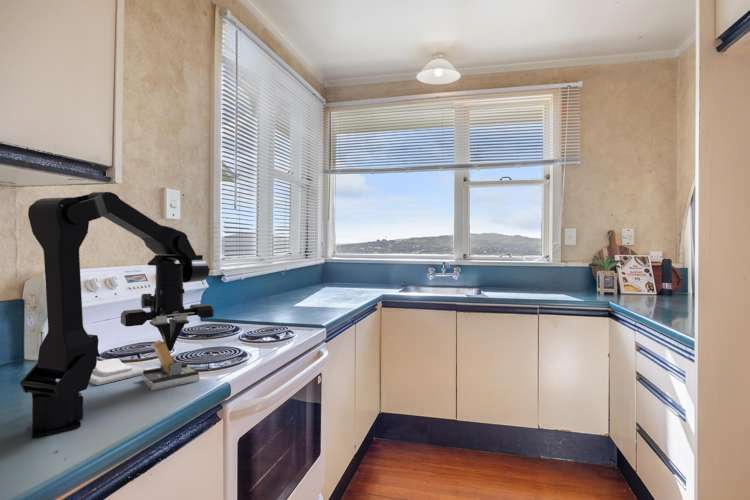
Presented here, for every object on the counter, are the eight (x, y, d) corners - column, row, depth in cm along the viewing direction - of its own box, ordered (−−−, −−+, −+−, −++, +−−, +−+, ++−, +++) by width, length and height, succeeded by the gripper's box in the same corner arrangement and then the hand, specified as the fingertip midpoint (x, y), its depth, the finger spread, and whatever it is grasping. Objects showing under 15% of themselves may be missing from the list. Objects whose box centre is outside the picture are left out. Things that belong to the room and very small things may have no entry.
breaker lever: (171, 376, 91) (157, 348, 89) (164, 371, 95) (151, 343, 93) (179, 372, 92) (165, 344, 90) (172, 367, 96) (159, 339, 94)
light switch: (123, 354, 105) (147, 359, 98) (123, 369, 105) (147, 376, 98) (74, 363, 96) (97, 369, 89) (74, 380, 96) (97, 388, 89)
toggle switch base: (151, 390, 86) (152, 369, 86) (141, 380, 93) (142, 360, 93) (199, 380, 93) (199, 360, 93) (186, 371, 100) (186, 352, 100)
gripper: (198, 280, 105) (198, 338, 105) (115, 284, 92) (115, 350, 92) (214, 283, 97) (214, 346, 97) (126, 288, 84) (125, 361, 84)
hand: (169, 350), depth 93 cm, fingers closed
